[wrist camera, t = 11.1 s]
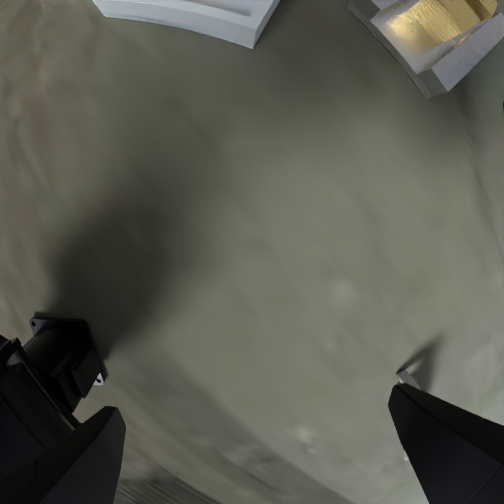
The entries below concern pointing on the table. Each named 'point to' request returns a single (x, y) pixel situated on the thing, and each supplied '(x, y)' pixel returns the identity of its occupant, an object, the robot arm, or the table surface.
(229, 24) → the tray
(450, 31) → the tan cubic piece
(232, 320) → the table surface
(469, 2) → the yellow cube
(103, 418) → the robot arm
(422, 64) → the slot rail
